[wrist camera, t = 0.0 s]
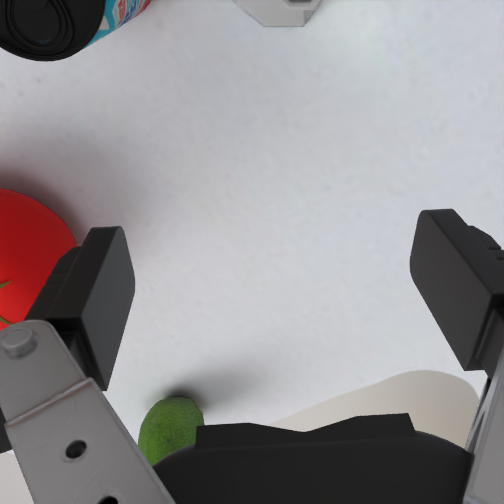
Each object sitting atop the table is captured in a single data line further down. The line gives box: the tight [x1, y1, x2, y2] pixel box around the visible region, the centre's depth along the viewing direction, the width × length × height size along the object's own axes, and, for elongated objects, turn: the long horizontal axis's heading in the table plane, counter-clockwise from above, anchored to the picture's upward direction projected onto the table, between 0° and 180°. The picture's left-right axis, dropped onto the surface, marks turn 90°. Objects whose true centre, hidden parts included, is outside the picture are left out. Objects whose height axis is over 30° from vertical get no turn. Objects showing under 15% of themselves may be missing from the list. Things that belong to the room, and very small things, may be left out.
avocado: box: [138, 397, 204, 466], centre depth 50 cm, size 8×8×12 cm
